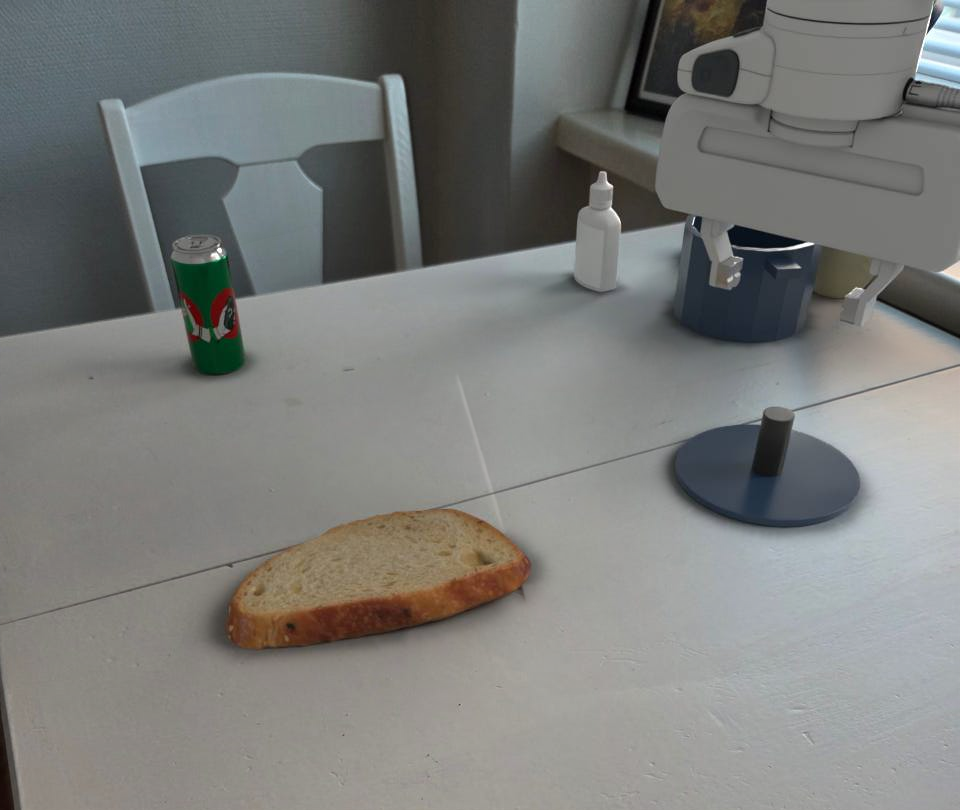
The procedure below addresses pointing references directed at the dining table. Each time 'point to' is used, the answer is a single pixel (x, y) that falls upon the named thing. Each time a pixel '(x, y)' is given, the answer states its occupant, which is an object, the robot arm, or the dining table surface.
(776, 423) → the lid
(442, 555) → the bread slice
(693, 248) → the pot
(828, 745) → the dining table surface
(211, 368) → the soda can
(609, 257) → the eye dropper bottle
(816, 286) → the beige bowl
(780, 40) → the robot arm
